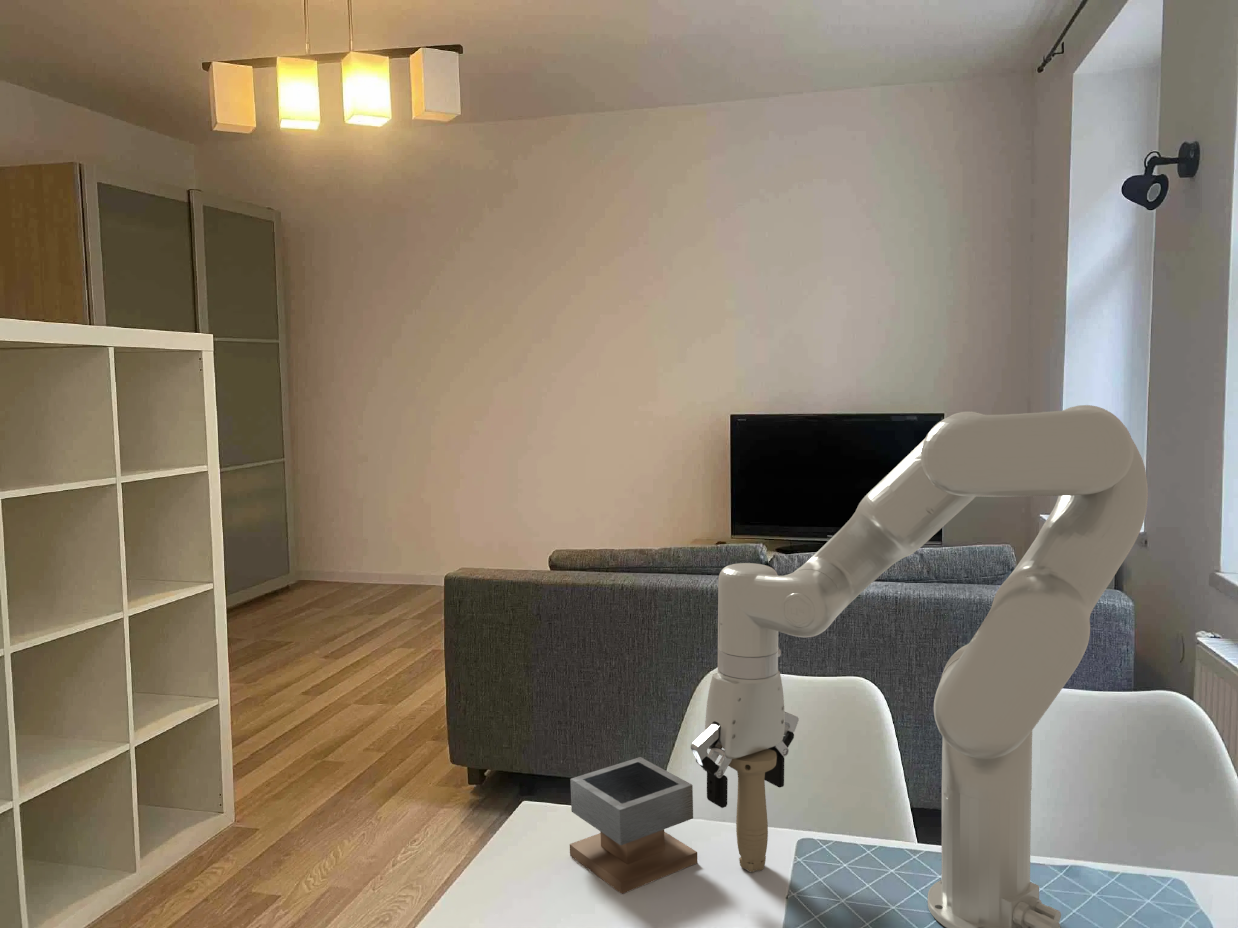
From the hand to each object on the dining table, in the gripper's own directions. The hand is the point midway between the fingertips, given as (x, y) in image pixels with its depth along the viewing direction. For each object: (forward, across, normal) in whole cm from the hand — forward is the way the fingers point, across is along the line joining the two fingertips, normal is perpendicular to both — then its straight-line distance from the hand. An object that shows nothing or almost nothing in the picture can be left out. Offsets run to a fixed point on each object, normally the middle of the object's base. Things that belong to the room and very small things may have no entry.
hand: (745, 793), depth 119 cm
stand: (+10, +10, -10) cm, 18 cm away
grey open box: (+4, +11, -10) cm, 15 cm away
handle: (+10, 0, +1) cm, 10 cm away
